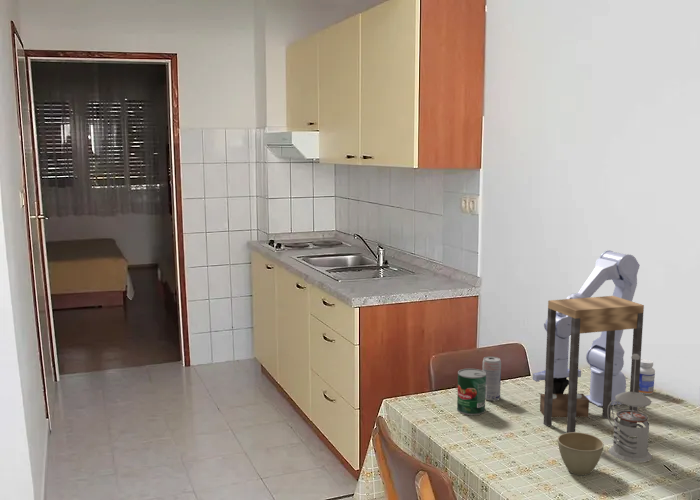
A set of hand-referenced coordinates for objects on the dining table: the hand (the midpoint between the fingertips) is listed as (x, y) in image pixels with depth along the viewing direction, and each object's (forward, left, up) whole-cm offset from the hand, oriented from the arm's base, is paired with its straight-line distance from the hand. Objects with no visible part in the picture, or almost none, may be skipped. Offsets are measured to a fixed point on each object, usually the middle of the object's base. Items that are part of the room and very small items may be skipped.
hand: (555, 402), depth 196 cm
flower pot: (+17, +36, -2) cm, 39 cm away
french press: (0, +31, -2) cm, 31 cm away
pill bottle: (-33, -3, -2) cm, 33 cm away
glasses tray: (0, +5, -2) cm, 5 cm away
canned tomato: (+24, -5, -2) cm, 25 cm away
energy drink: (+14, -12, -2) cm, 19 cm away
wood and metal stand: (0, +16, -1) cm, 16 cm away
